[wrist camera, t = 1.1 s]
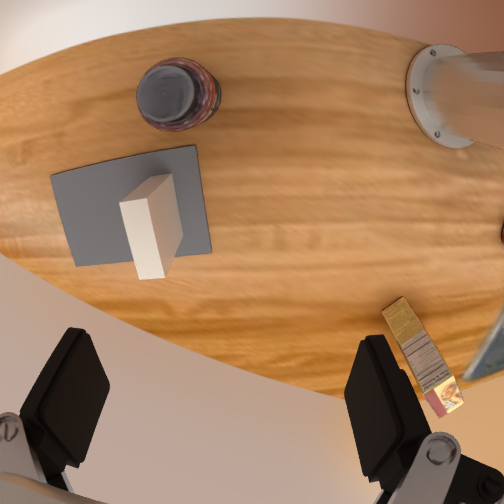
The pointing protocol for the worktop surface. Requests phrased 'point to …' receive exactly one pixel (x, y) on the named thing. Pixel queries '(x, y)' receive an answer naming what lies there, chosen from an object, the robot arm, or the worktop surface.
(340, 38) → the worktop surface
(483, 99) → the robot arm
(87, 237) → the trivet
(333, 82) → the worktop surface
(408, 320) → the candy box
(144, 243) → the block
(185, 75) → the supplement bottle
